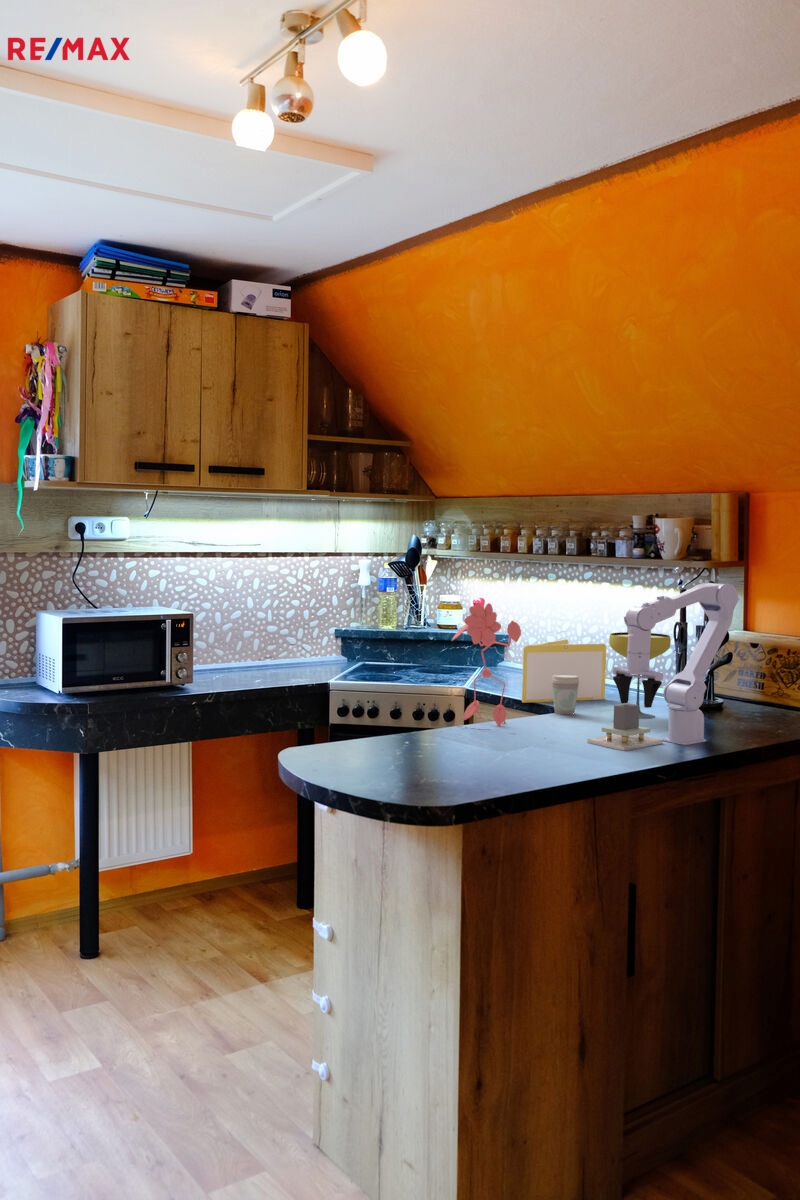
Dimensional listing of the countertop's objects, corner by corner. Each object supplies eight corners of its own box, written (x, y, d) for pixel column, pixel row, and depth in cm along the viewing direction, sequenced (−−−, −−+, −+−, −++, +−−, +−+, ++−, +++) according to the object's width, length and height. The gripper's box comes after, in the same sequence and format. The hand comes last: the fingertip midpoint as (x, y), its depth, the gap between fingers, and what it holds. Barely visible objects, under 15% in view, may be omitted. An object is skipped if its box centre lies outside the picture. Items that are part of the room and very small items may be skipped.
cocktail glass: (657, 724, 291) (660, 638, 289) (598, 717, 300) (600, 635, 299) (675, 715, 306) (678, 634, 305) (618, 709, 316) (620, 631, 314)
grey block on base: (625, 727, 268) (626, 701, 268) (650, 732, 262) (651, 705, 262) (601, 731, 262) (602, 704, 262) (626, 736, 256) (626, 709, 255)
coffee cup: (549, 716, 302) (550, 676, 301) (551, 711, 310) (552, 673, 309) (577, 717, 300) (578, 678, 299) (579, 713, 308) (580, 674, 307)
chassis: (626, 736, 272) (626, 725, 271) (662, 743, 262) (663, 732, 262) (587, 742, 262) (587, 731, 261) (623, 750, 252) (624, 738, 252)
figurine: (461, 716, 299) (463, 599, 297) (530, 728, 281) (533, 604, 279) (426, 722, 288) (428, 601, 286) (495, 735, 270) (498, 606, 268)
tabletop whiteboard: (556, 692, 353) (558, 637, 352) (615, 697, 342) (617, 641, 341) (513, 704, 323) (515, 644, 322) (576, 711, 312) (578, 649, 311)
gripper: (606, 650, 262) (604, 702, 263) (651, 656, 251) (649, 710, 251) (623, 650, 266) (621, 700, 267) (669, 655, 255) (666, 708, 256)
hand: (635, 705), depth 259 cm, fingers open, 7 cm apart
